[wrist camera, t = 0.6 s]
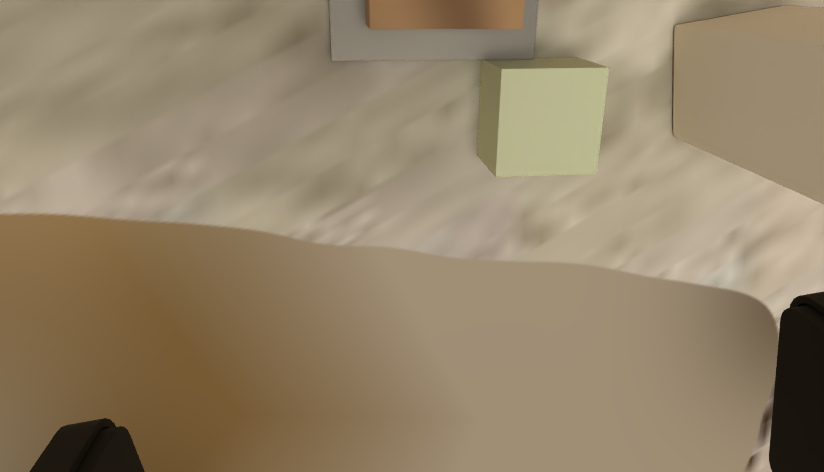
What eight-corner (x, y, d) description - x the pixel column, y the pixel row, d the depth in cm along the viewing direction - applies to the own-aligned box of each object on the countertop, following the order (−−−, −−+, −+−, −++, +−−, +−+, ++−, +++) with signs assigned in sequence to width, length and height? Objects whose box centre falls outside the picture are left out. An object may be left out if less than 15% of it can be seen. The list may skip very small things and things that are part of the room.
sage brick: (476, 154, 40) (495, 177, 35) (480, 58, 38) (501, 68, 33) (566, 151, 41) (596, 173, 36) (575, 57, 38) (609, 67, 34)
